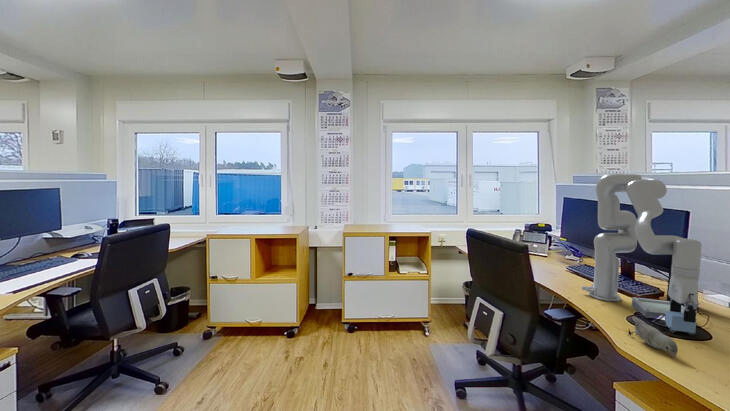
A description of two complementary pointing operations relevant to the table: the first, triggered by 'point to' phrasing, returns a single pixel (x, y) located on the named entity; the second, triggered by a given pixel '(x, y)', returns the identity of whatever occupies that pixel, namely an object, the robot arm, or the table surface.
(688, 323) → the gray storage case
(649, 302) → the dock
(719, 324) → the table surface
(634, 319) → the decorative bird
